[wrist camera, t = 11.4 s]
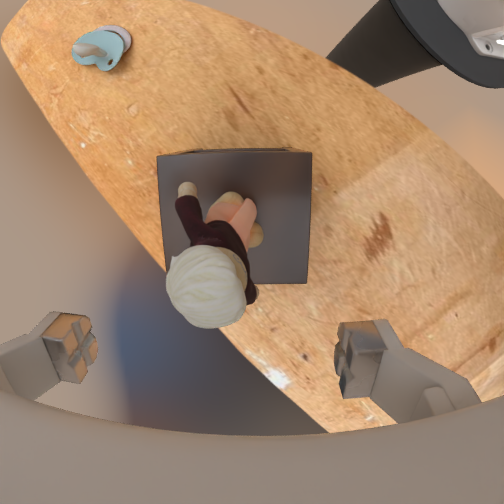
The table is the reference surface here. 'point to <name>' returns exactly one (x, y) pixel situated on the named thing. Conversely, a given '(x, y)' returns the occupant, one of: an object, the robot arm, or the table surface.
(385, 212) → the table surface
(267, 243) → the rack
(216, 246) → the grandmother figurine
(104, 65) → the pacifier
